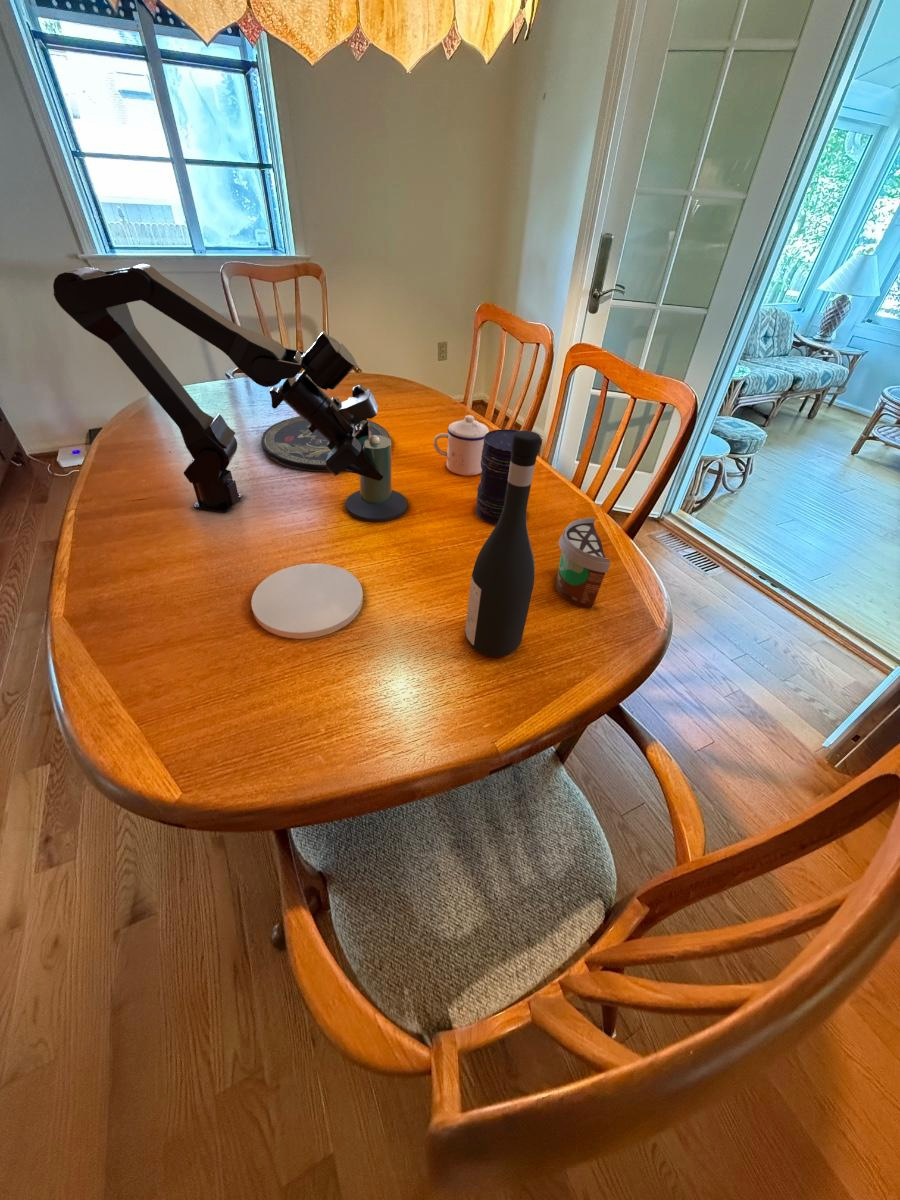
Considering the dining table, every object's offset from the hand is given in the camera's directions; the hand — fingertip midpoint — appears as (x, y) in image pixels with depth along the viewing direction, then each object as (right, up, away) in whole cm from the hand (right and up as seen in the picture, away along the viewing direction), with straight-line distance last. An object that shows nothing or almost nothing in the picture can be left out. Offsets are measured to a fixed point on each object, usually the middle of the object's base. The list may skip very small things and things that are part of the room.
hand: (382, 471), depth 92 cm
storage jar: (+22, -7, +6) cm, 24 cm away
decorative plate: (-16, +13, +25) cm, 33 cm away
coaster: (-2, -6, +5) cm, 8 cm away
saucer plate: (-9, -24, -18) cm, 31 cm away
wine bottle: (+19, -30, -22) cm, 41 cm away
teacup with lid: (+15, +6, +20) cm, 26 cm away
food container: (+32, -22, -11) cm, 40 cm away
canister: (-2, -4, +3) cm, 6 cm away
